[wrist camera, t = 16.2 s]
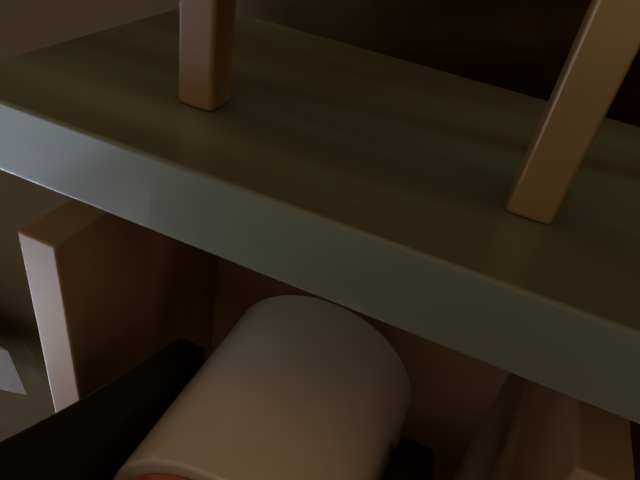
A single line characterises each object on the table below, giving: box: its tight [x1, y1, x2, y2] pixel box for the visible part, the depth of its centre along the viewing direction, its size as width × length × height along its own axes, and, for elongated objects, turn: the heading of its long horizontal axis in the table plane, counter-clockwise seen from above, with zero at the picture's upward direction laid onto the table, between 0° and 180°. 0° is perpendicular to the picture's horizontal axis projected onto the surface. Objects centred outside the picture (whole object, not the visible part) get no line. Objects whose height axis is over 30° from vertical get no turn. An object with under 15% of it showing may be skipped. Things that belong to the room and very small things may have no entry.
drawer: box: [0, 0, 640, 480], centre depth 12 cm, size 18×11×7 cm, turn 170°
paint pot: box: [113, 295, 412, 480], centre depth 11 cm, size 4×4×5 cm
